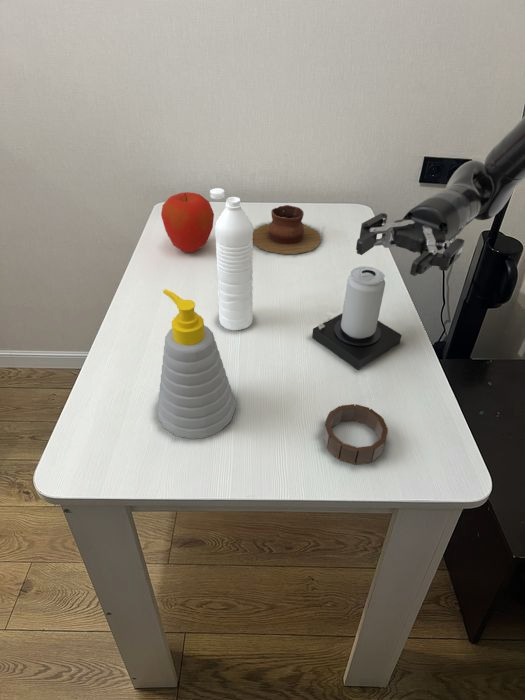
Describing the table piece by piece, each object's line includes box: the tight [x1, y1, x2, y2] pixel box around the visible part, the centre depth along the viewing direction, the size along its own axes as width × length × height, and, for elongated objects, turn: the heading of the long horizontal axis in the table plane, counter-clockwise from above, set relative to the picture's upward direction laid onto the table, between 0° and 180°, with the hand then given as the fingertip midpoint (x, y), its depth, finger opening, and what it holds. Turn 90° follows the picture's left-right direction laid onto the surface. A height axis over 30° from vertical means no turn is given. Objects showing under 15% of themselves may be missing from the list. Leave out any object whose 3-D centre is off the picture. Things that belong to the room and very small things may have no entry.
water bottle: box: [209, 187, 254, 331], centre depth 89 cm, size 9×6×25 cm
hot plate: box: [311, 312, 403, 370], centre depth 91 cm, size 12×12×3 cm
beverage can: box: [341, 265, 386, 339], centre depth 87 cm, size 6×6×12 cm
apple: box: [160, 191, 215, 254], centre depth 114 cm, size 12×12×14 cm
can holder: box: [322, 403, 389, 465], centre depth 73 cm, size 9×9×3 cm
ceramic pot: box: [252, 204, 322, 255], centre depth 121 cm, size 18×18×7 cm
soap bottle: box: [157, 288, 237, 440], centre depth 72 cm, size 12×12×20 cm
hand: (385, 258), depth 68 cm, fingers open, 8 cm apart
